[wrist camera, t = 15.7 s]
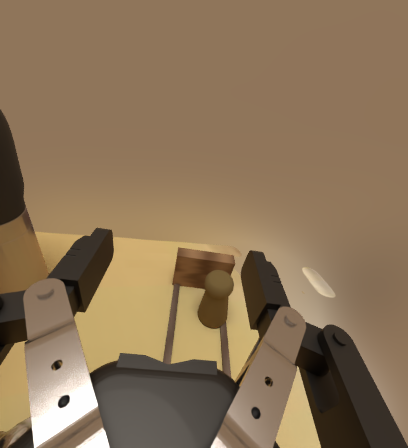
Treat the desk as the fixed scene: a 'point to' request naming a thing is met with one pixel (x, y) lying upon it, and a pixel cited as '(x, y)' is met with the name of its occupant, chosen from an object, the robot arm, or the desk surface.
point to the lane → (195, 277)
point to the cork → (215, 299)
